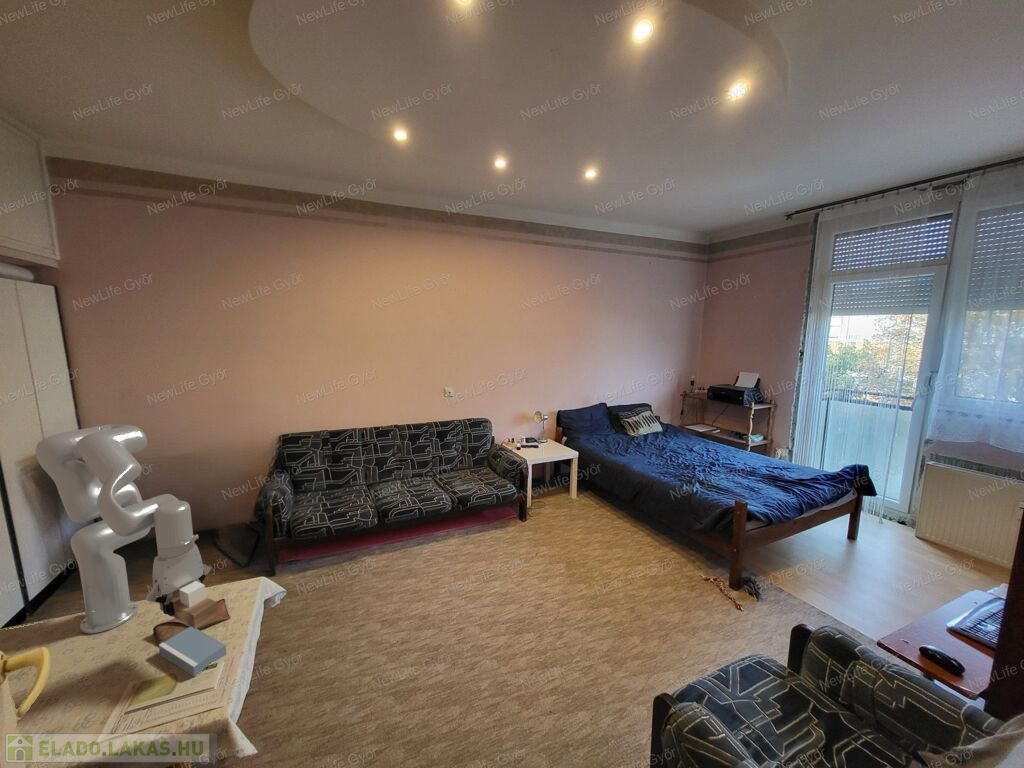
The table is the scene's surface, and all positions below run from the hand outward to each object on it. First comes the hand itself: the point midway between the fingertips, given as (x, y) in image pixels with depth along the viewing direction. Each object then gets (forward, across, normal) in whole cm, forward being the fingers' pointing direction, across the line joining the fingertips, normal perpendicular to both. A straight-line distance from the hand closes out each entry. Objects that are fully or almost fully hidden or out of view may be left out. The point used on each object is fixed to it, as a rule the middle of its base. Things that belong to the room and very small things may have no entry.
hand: (182, 606), depth 110 cm
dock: (+14, 0, +3) cm, 15 cm away
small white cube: (-3, 0, +4) cm, 5 cm away
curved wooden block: (+1, 0, +3) cm, 3 cm away
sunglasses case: (+15, -6, -8) cm, 18 cm away
